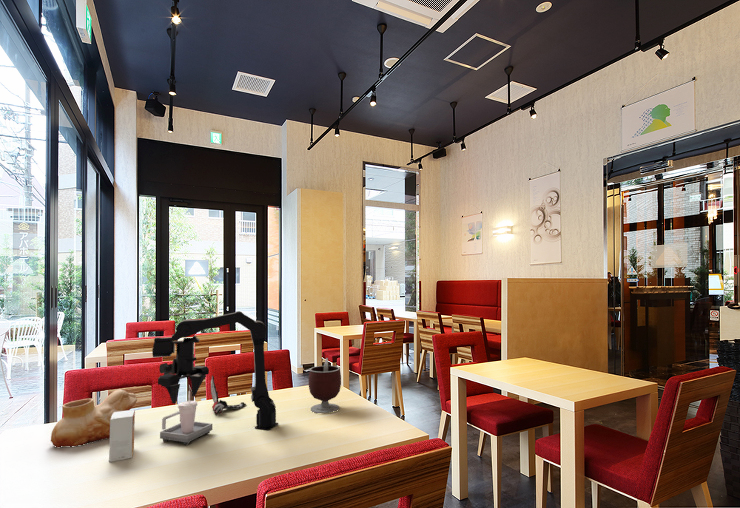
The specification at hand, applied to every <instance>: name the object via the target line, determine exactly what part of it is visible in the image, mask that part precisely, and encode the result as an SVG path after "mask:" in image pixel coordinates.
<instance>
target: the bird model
mask: <svg viewBox="0 0 740 508" xmlns="http://www.w3.org/2000/svg"><path fill="white" fill-rule="evenodd" d="M210 393H211V399H212V401H213V404H212V407H211V409H212V412H213V413H215V416H218V415H219V413H221V412H222V411H223V410H228V409H229V410H230V409H235V410H238V409H243V408H245V407H246V406H247V403H245V402H240V403H239V404H234V405H233V404H231V405H230V404H228V403H227V401H225V400H221V399H219V393H218V391H217V387H216V384H215V377H214V375H211V380H210Z"/></svg>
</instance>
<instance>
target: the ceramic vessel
mask: <svg viewBox="0 0 740 508" xmlns="http://www.w3.org/2000/svg"><path fill="white" fill-rule="evenodd" d="M137 401H138V398H137V395H136V394H135V393H133V392H128V391H126V390H124V389H121V388H119V389H115V390H113V391H112V392H111V393H110V394H109V395H107V397H105V399H104V400H103V401H102V402H101V403H99V404H96V405H95V401H94V399H93V398H83V399H79V400H78V399H77V400H72V401H69V402H67V403H64V404H62V407H61V408H62V412H63V417H62V418H61V419H60V420H59V421H57V422H56V424H55V425H54V427H53V428H52V431H51V434H50V435H51V436H50V442H51V443H52V445H53V447H54V446H56V447H55V448H57V447H60V448H62V447H61V446H70V447H69V448H73V447H72V446H76V447H79V446H78V445H81V446H84V445H83V444H85V445H87V443H88V444H93V443H95V442H99V440H100V441H103V440H107V439H110V419H111V416H112V414H113V413H114V412H119V411H127V410H132V408H133V407H134V406H135V405H136V404H137ZM106 438H107V439H106ZM102 439H103V440H102ZM92 442H93V443H92Z"/></svg>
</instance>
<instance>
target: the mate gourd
mask: <svg viewBox="0 0 740 508" xmlns="http://www.w3.org/2000/svg"><path fill="white" fill-rule="evenodd" d="M340 368H341V367H339V366H338V365H337V366H336V365H329V358H328V357H326V358H325V361H324V363H323V365H317V366H313V367H311V368H309V373H308V390H309V393H310V394H311V396H312V397H313V399H316V400H319V401H321V403H318V404H314V405H313V406H311V407H310V411H312V413H313V412H314V413H313V414H317V413H329V412H333V411H337V410H338V409H339V410H340V405H339V404H336V403H330V402H329V401H330V400H332V399H335V398H336V397H337V396H338V395H339V393H340V391H341V387H342V376H341V375H342V374H341V369H340ZM339 410H338V411H339ZM338 411H337V412H338Z"/></svg>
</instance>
